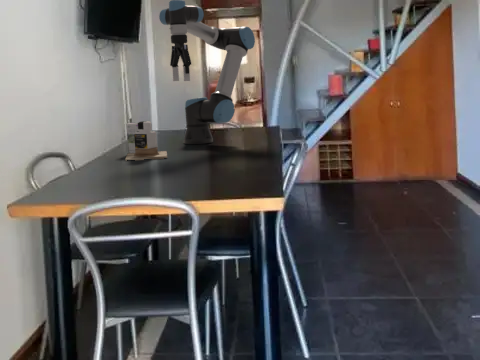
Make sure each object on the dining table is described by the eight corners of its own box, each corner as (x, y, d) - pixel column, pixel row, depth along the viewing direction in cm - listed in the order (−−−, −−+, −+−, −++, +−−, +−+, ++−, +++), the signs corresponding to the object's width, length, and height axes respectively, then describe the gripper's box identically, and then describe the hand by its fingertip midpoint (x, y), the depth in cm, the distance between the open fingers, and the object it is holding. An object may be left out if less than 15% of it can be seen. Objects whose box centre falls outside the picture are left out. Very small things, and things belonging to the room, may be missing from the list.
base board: (127, 155, 285) (127, 146, 284) (166, 153, 287) (166, 144, 286) (125, 161, 267) (124, 151, 266) (167, 158, 269) (166, 149, 268)
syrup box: (145, 152, 291) (143, 122, 288) (137, 154, 286) (135, 123, 283) (135, 152, 294) (133, 122, 291) (128, 154, 289) (125, 123, 286)
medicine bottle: (134, 148, 275) (132, 122, 273) (145, 146, 281) (143, 120, 279) (147, 149, 271) (145, 122, 269) (157, 147, 277) (155, 120, 275)
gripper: (161, 36, 294) (164, 81, 298) (181, 32, 272) (184, 81, 276) (176, 36, 297) (179, 80, 301) (196, 32, 276) (199, 80, 279)
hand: (181, 81), depth 289 cm, fingers open, 13 cm apart
